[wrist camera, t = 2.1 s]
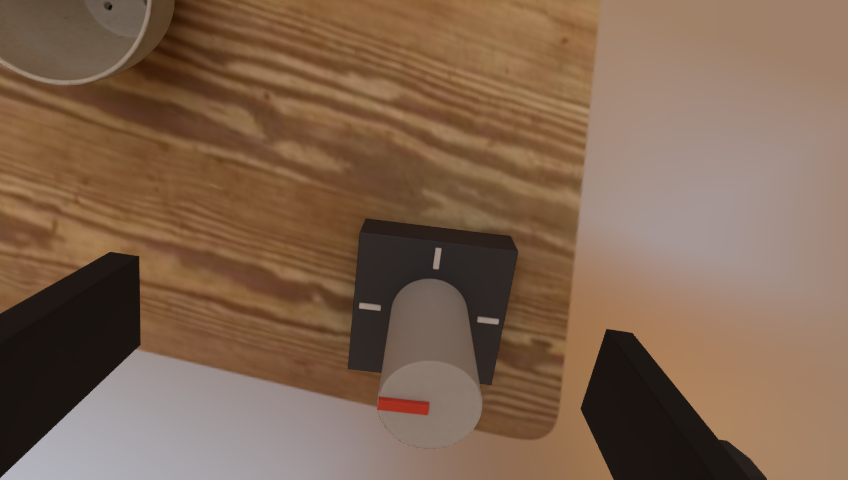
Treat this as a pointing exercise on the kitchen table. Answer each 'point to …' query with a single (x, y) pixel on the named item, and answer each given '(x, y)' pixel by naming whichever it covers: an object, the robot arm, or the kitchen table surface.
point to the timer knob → (429, 368)
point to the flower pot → (79, 37)
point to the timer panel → (430, 259)
